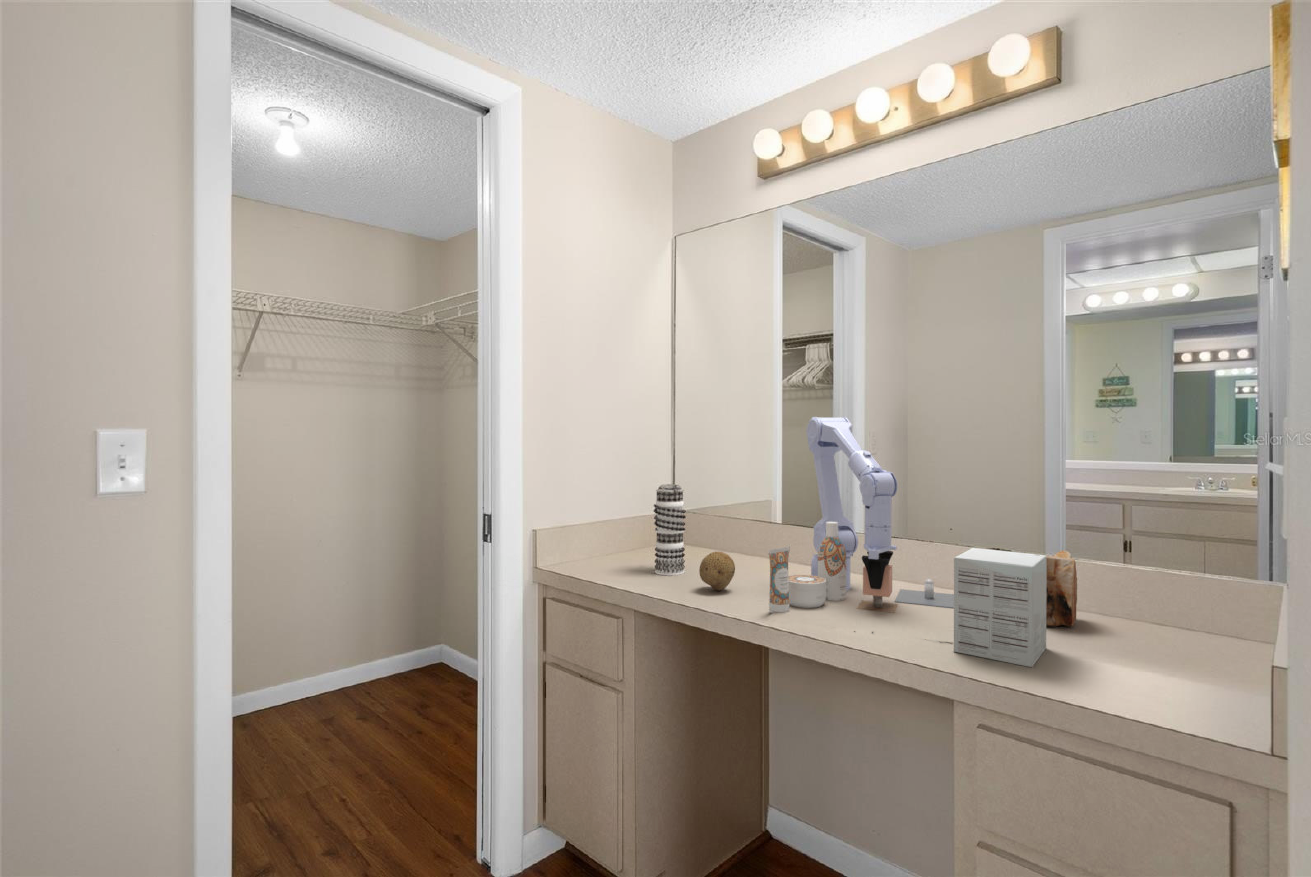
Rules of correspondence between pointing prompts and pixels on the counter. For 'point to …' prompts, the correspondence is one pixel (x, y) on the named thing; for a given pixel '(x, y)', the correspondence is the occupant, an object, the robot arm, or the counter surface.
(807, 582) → the cosmetic set
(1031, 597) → the supplement box
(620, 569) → the counter surface
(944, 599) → the board
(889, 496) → the robot arm
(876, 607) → the walnut stand
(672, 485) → the decorative candle
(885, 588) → the terracotta collar
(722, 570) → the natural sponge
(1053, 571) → the stone
